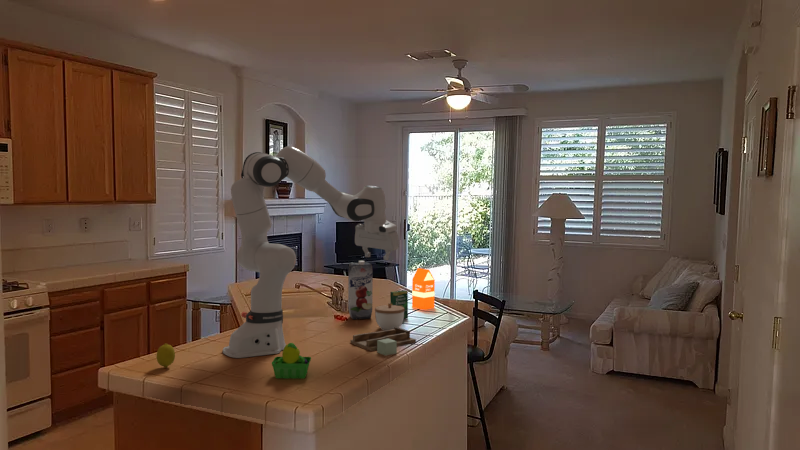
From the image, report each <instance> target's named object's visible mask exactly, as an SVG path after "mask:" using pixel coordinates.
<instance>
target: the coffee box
mask: <svg viewBox="0 0 800 450" xmlns="http://www.w3.org/2000/svg"><path fill="white" fill-rule="evenodd" d="M408 293H409V291H408V290H406V289H403V290H396V291H390V303H391V305H397V306H402V307H404V319H403V320H407V319H409V303H408V302H409V301H408V297H409V294H408Z"/></svg>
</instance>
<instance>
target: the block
mask: <svg viewBox="0 0 800 450" xmlns="http://www.w3.org/2000/svg"><path fill="white" fill-rule="evenodd" d="M397 347H398V346H397V341H395V340H392V339H389V338H388V339H382V340H377V350H376V353H378V354H379V355H382V356H390V355H396V354H397V353H398V348H397Z"/></svg>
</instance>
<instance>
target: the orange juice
mask: <svg viewBox="0 0 800 450" xmlns="http://www.w3.org/2000/svg"><path fill="white" fill-rule="evenodd" d="M431 272H432V271H430V269H428V268H419V267H417V269H416V272H415V273H414V275H413V277H412V282H411V283H412V289H411V290H412V291H411V293H412V294H411V295H412V296H411V297H412V299H411V301H412V302H411V303H412V305H411V307H412V308H415V309H420V310H429V309H435V283H436V281H435V280H436V279H434V278H435V277H434V276H433V274H432V273H431Z"/></svg>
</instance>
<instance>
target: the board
mask: <svg viewBox="0 0 800 450" xmlns="http://www.w3.org/2000/svg"><path fill="white" fill-rule="evenodd" d="M388 338H389V339H392V340H395V341H397V347H398V346H404V345H405V346H406V345H409V344H414V343H415V344H416V343H417V339H416V338H413V337H411V331H410V330H407V329H404V328H401V327H399V328H398V327H394V329H391V330H380V331H374V332H365V333H359V334H354V335H353V334H352V339H350V344H351V343H352V345H355V346H356V347H359V348H362V349H364V350H366V351H370V352H373V351H377V340H382V339H388Z"/></svg>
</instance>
